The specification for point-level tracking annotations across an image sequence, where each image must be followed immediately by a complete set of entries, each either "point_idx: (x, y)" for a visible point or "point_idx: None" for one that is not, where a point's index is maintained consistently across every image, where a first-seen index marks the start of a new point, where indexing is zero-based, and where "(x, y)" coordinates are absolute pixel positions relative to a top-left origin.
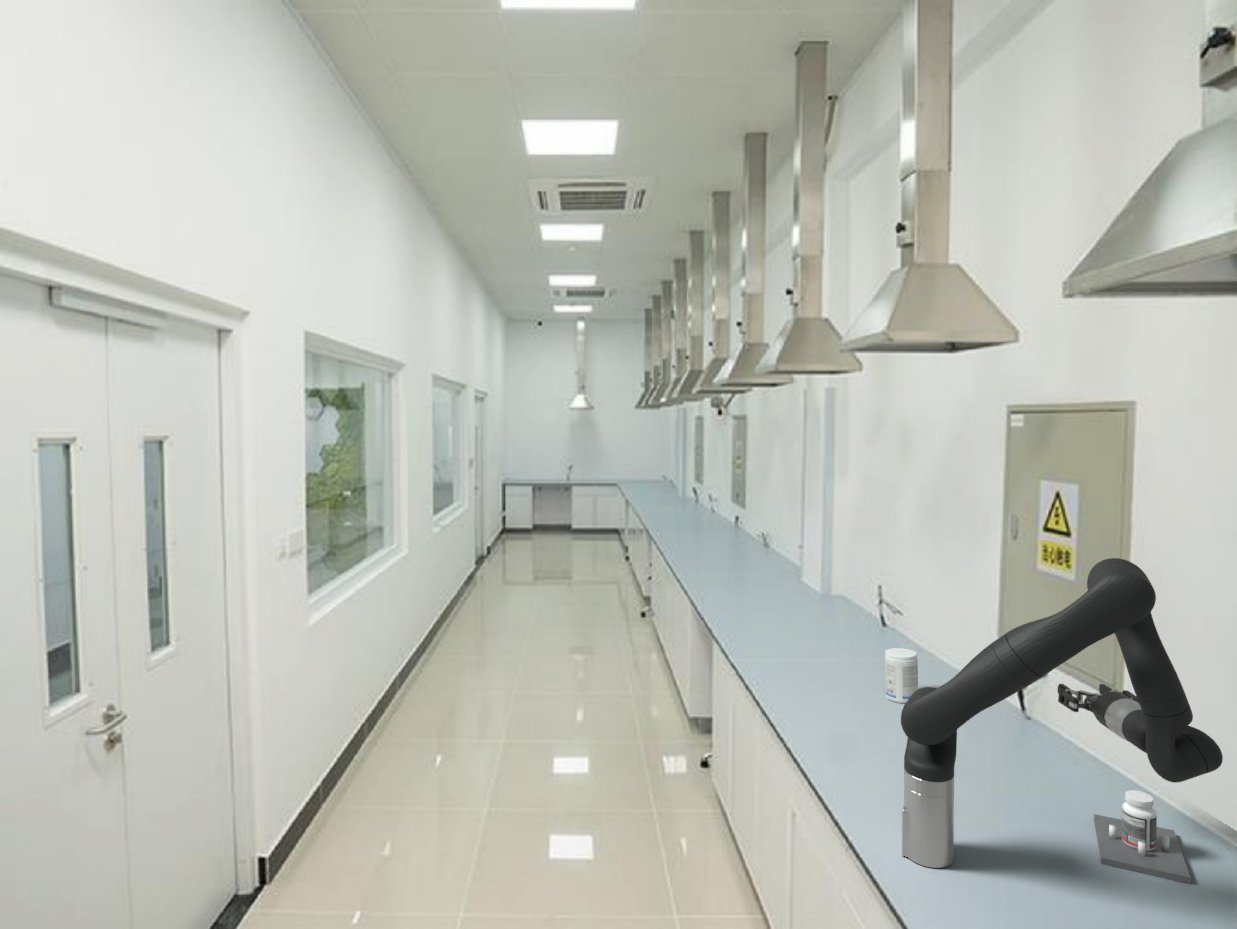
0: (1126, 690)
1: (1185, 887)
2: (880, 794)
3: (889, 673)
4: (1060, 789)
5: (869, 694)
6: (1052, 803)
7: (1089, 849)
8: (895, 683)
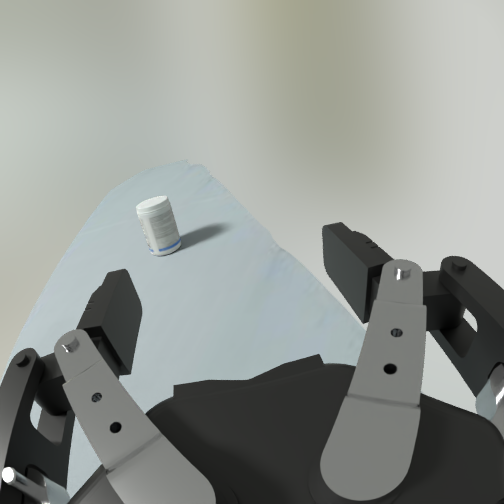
0: (461, 260)
1: None
2: None
3: (142, 227)
4: None
5: (140, 250)
6: None
7: None
8: (148, 237)
